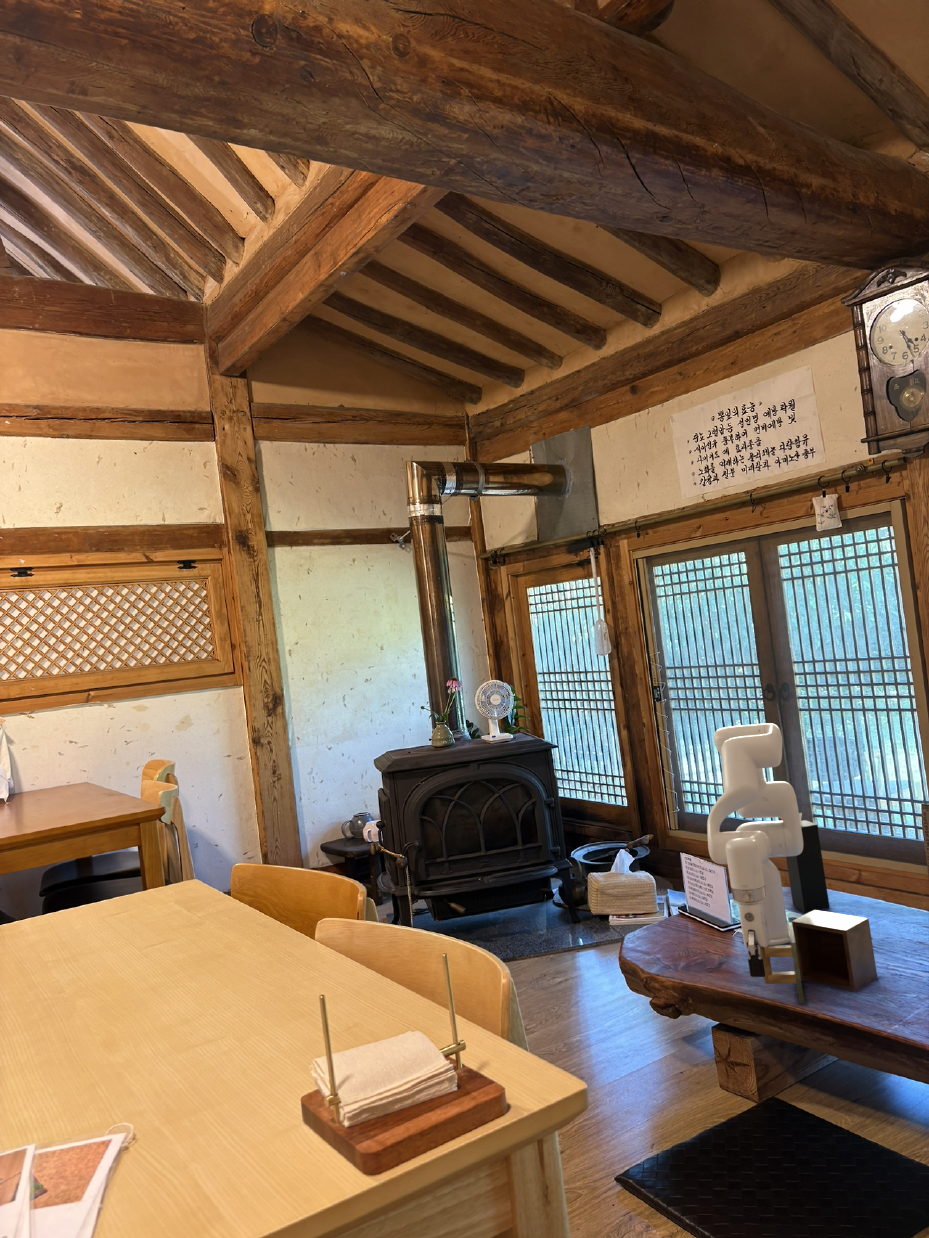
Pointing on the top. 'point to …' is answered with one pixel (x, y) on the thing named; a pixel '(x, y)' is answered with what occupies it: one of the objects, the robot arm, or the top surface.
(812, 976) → the cupboard
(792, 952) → the door
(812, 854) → the tall black block
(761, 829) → the robot arm
